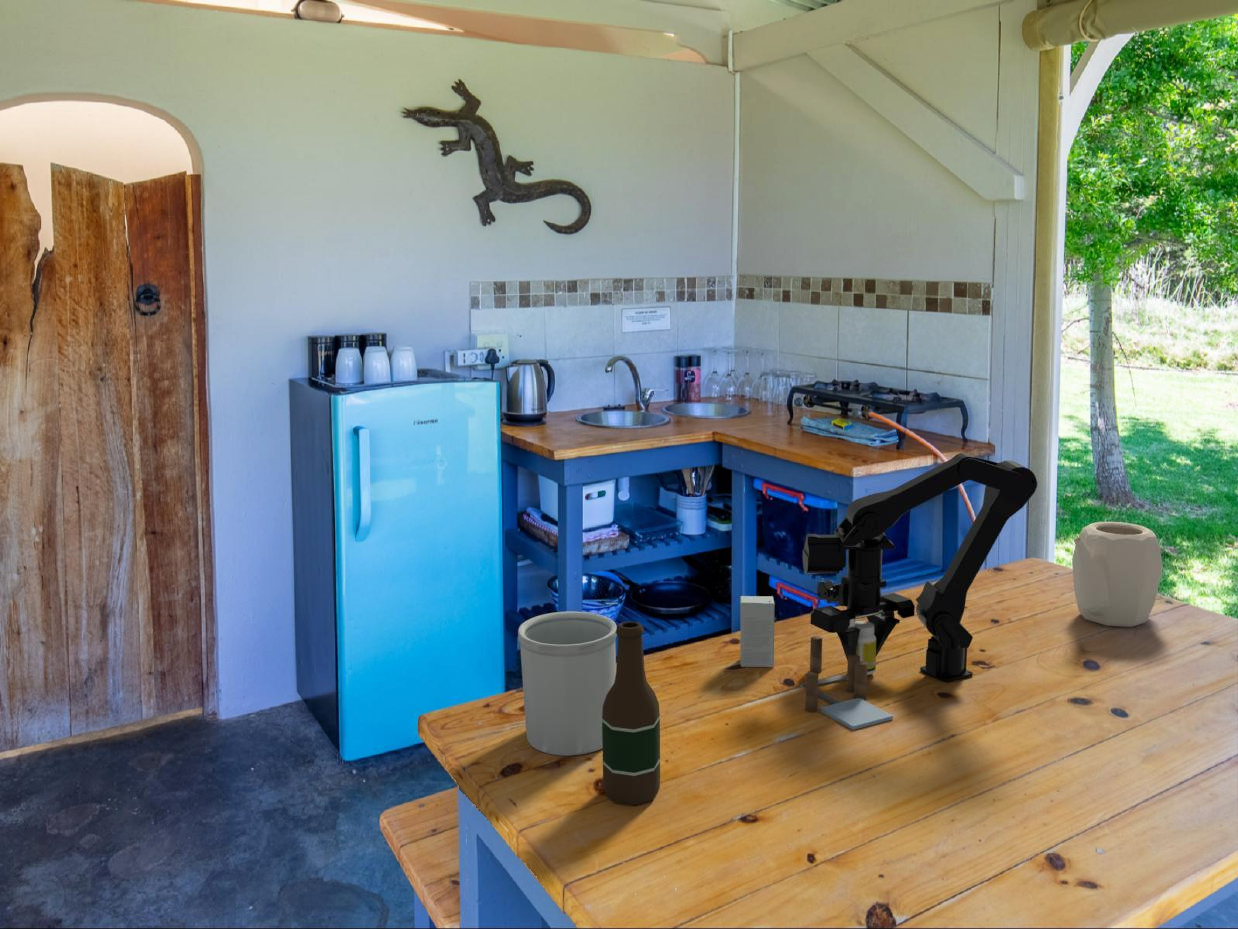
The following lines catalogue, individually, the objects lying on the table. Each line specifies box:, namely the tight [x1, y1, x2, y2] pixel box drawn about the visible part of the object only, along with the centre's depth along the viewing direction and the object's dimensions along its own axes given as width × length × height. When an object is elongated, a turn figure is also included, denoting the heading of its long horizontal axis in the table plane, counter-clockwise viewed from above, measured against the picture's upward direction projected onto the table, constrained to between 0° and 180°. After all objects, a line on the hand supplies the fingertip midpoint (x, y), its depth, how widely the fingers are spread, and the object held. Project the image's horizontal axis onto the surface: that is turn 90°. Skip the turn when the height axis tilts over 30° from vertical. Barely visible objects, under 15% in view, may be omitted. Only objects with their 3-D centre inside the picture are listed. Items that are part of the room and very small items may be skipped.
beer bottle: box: [602, 620, 661, 807], centre depth 141 cm, size 8×8×24 cm
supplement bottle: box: [855, 620, 877, 676], centre depth 183 cm, size 5×5×8 cm
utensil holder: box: [517, 610, 618, 757], centre depth 159 cm, size 15×15×18 cm
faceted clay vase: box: [1071, 521, 1163, 628], centre depth 208 cm, size 16×27×19 cm, turn 124°
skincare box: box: [739, 595, 776, 668], centre depth 188 cm, size 6×4×12 cm
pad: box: [819, 698, 894, 731], centre depth 167 cm, size 8×8×1 cm
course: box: [799, 635, 868, 714], centre depth 177 cm, size 14×15×6 cm
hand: (861, 659), depth 183 cm, fingers closed on supplement bottle, 5 cm apart
